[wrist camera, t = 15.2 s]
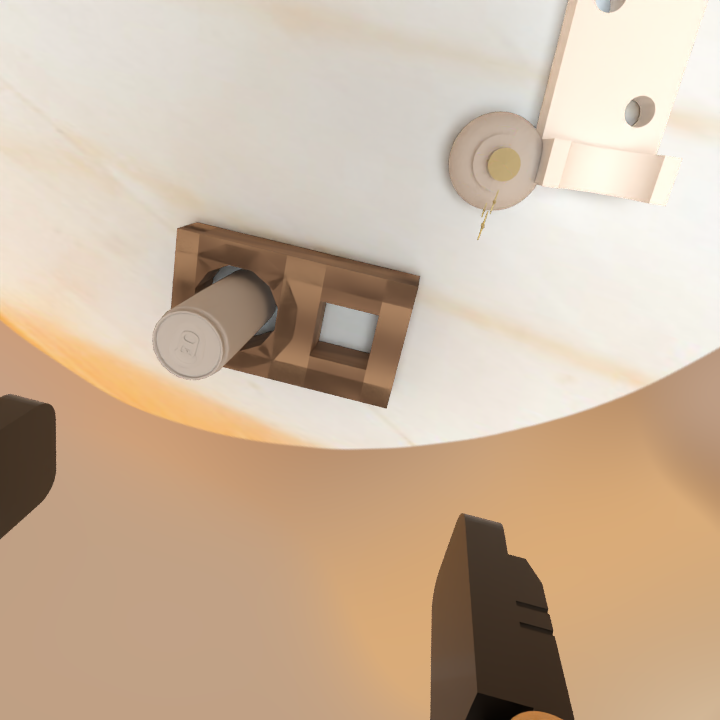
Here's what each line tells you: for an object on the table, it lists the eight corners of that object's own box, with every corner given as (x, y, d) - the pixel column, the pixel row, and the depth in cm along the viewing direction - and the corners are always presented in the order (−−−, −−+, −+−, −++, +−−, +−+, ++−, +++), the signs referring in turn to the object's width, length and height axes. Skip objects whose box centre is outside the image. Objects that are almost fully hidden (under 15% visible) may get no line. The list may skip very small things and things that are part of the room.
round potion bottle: (549, 128, 37) (586, 122, 28) (509, 234, 40) (530, 261, 31) (464, 103, 37) (473, 89, 28) (430, 211, 40) (428, 230, 31)
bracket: (623, 195, 38) (665, 206, 31) (522, 178, 39) (542, 185, 32) (694, -24, 33) (763, -69, 26) (577, -39, 34) (615, -88, 27)
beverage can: (215, 311, 45) (142, 364, 34) (230, 258, 43) (159, 296, 32) (268, 333, 45) (213, 394, 34) (286, 281, 43) (234, 327, 32)
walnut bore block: (197, 222, 43) (177, 228, 39) (419, 276, 42) (418, 287, 39) (186, 338, 46) (167, 352, 43) (390, 389, 46) (386, 408, 42)
